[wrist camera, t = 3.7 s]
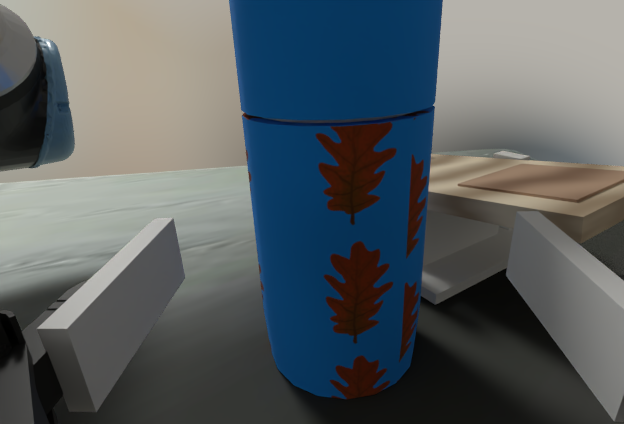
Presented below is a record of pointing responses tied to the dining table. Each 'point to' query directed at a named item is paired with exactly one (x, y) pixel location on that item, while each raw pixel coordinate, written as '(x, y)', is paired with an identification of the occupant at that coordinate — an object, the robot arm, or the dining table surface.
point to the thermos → (339, 180)
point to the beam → (528, 192)
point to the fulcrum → (462, 250)
